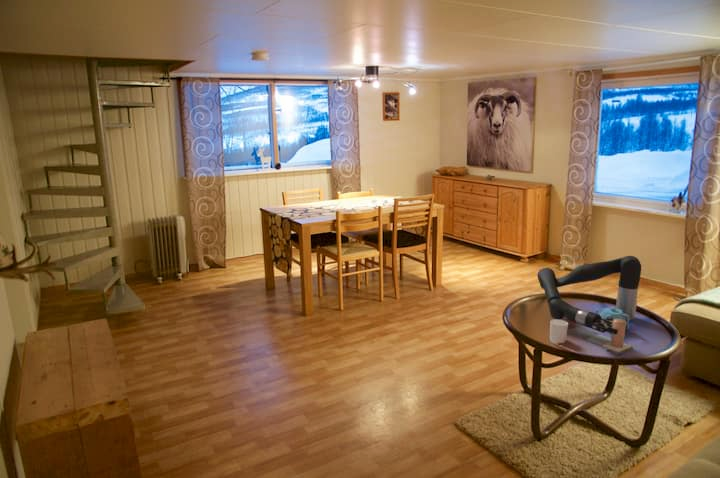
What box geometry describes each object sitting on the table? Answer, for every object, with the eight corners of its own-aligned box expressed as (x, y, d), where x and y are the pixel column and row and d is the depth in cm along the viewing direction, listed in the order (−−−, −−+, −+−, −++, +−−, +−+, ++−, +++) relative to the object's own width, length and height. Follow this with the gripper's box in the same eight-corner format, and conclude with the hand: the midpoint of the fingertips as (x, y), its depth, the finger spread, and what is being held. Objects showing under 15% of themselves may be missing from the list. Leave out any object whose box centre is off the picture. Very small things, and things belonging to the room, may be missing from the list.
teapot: (622, 340, 240) (625, 317, 237) (587, 330, 251) (589, 308, 248) (635, 328, 254) (637, 306, 251) (600, 319, 265) (603, 298, 262)
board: (579, 328, 253) (579, 325, 253) (632, 349, 230) (633, 345, 230) (563, 333, 247) (563, 330, 247) (617, 355, 224) (617, 351, 224)
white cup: (566, 340, 240) (568, 320, 237) (565, 346, 233) (567, 326, 230) (549, 337, 243) (551, 318, 241) (547, 343, 236) (549, 324, 234)
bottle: (614, 341, 233) (617, 317, 231) (625, 346, 229) (628, 321, 226) (608, 344, 231) (610, 320, 228) (618, 348, 226) (621, 323, 224)
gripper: (595, 322, 245) (628, 333, 232) (579, 330, 237) (613, 341, 224) (596, 308, 243) (630, 318, 230) (580, 315, 235) (614, 325, 222)
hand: (621, 329), depth 227 cm, fingers open, 8 cm apart
